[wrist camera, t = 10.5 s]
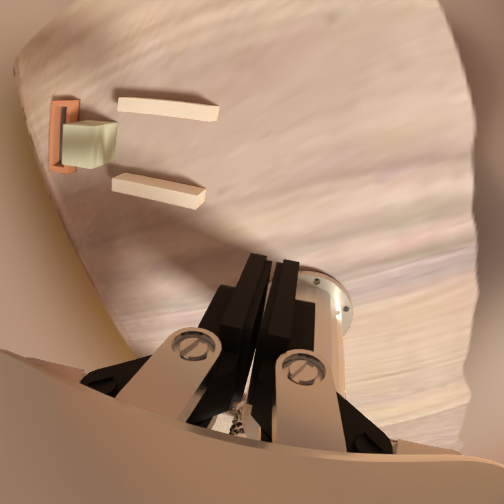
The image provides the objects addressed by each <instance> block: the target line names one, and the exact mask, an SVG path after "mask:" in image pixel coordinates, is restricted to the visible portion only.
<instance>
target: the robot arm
mask: <svg viewBox="0 0 504 504" xmlns="http://www.w3.org/2000/svg"><path fill="white" fill-rule="evenodd" d="M271 266H272V261H268V260H267V256H264V255H259V254H253V253H251V254H250V256H249V258H248V261H247V263H246V265H245V268H244V270H243V272H242V274H241V277H240V279H239V281H238V283H237V286H236V287H231V286H226V285H220V286H219V288H218V290H217V292H216V294H215V295H214V297H213V299H212V301H211V303H210V305H209V307H208V309H207V311H206V313H205V314H204V316H203V318H202V320H201V322H200V324H199V326H198V328H196V327H188V328H183V329H180V330H177V331H175V332H174V333H172V334H171V335H170V336H169V337H168V338H167V339H166V340H165V341H164V343H163V344H162V345H161V346H160V347H159V348H158V349H157V350H156V352H155V353H154V354H153V355H150V356H146V357H143V358H139V359H136V360H132V361H128V362H124V363H121V364H117V365H113V366H109V367H105V368H101V369H97V370H95V371H92V372H90V373H88V374H85V373H84V370H83V369H78V368H73V367H69V366H64V365H59V364H56V363H51V362H47V361H43V360H40V359H35V358H28V357H27V358H25V357H23V356H20V355H17V354H15V353H13V352H10V351H7V350H4V349H0V504H504V465H503V464H500V463H497V462H494V461H491V460H488V459H484V458H479V457H472V456H465V455H461V454H460V453H459V452H457V451H454V450H450V449H444V448H438V447H433V446H428V445H422V444H418V443H413V442H408V441H404V440H399V439H398V440H397V442H392V441H390V439H389V438H388V437H387V436H386V435H385V433H384V432H382V431H381V430H380V429H379V428H378V427H377V426H375V425H374V424H373V423H372V422H371V421H370V420H368V419H367V418H366V417H365V416H364V415H363V414H362V413H360V412H359V411H358V410H357V409H356V408H355V407H354V406H352V405H351V404H350V403H349V402H348V401H347V400H346V387H345V365H344V347H343V336H344V335H345V334H346V333H347V331H348V330H349V328H350V325H351V323H352V318H353V308H352V302H351V299H350V296H349V295H348V293H347V291H346V290H345V288H344V287H343V286H342V285H341V284H340V283H339V282H337V281H336V280H335V279H333V278H331V277H329V276H327V275H325V274H322V273H319V272H314V271H299V262H296V261H291V260H286V259H284V261H283V263H279V262H277V264H276V268H275V272H274V276H273V280H272V281H270V282H269V278H270V272H271ZM255 349H256V351H255ZM254 353H255V356H254ZM253 356H254V362H253V368H252V374H251V378H250V382H249V386H248V389H247V393H246V397H245V401H244V405H243V410H242V425H243V430H244V432H245V435H246V437H247V438H244V437H239V436H235V435H230V434H226V433H222V432H218V431H214V430H211V429H212V427H213V425H214V423H215V421H216V418H217V415H218V414H221V413H223V412H225V411H228V410H231V411H232V407H233V404H234V401H235V402H240V403H241V400H242V396H243V393H244V389H245V386H246V382H247V378H248V375H249V371H250V367H251V364H252V360H253Z"/></svg>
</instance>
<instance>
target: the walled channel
mask: <svg viewBox="0 0 504 504" xmlns="http://www.w3.org/2000/svg"><path fill="white" fill-rule="evenodd" d="M117 111H122V112H135V113H145V114H155V115H164V116H172V117H180V118H188V119H195V120H201V121H208V122H209V121H216V120H217V118H218V112H219V106H214V105H207V104H200V103H192V102H184V101H175V100H165V99H153V98H140V97H119V100H118V108H117ZM112 191H114V192H119V193H124V194H128V195H133V196H137V197H142V198H146V199H151V200H155V201H160V202H164V203H169V204H173V205H177V206H182V207H186V208H190V209H194V210H196V209H197V208H198V207H199V206H200V205H201V204H202V203H203V202H204V200H205V193H206V189H205V188H200V187H196V186H191V185H186V184H182V183H177V182H172V181H167V180H162V179H157V178H152V177H147V176H142V175H136V174H131V173H126V172H125V173H123V174H120V175H118V176H116V177H113V178H112Z"/></svg>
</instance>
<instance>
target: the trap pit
mask: <svg viewBox="0 0 504 504" xmlns="http://www.w3.org/2000/svg"><path fill="white" fill-rule="evenodd" d="M79 109H80V100H55V101H52V104H51V118H50V138H49V171H54V172H59V173H65V174H70V173H72V172H75V171H76V167H75V166H69V165H63V164H62V140H63V124H68V123H73V122H78V120H79Z"/></svg>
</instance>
